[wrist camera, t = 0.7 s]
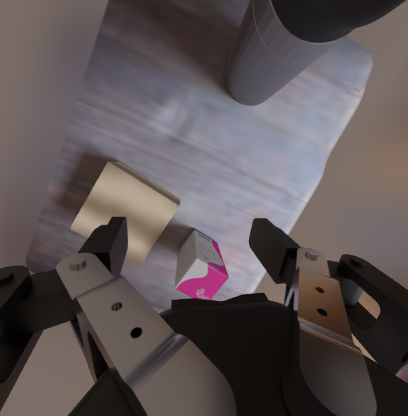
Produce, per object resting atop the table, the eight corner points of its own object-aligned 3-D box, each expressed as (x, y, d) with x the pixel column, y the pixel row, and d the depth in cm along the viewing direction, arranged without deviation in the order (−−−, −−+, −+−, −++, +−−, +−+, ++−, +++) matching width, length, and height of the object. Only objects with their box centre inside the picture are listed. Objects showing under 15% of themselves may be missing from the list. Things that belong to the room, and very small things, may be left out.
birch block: (121, 161, 33) (107, 161, 27) (180, 198, 35) (179, 205, 30) (89, 217, 35) (69, 228, 29) (147, 249, 37) (140, 265, 31)
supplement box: (177, 251, 37) (172, 288, 26) (194, 227, 37) (197, 255, 26) (201, 265, 39) (206, 307, 27) (218, 243, 38) (231, 276, 27)
